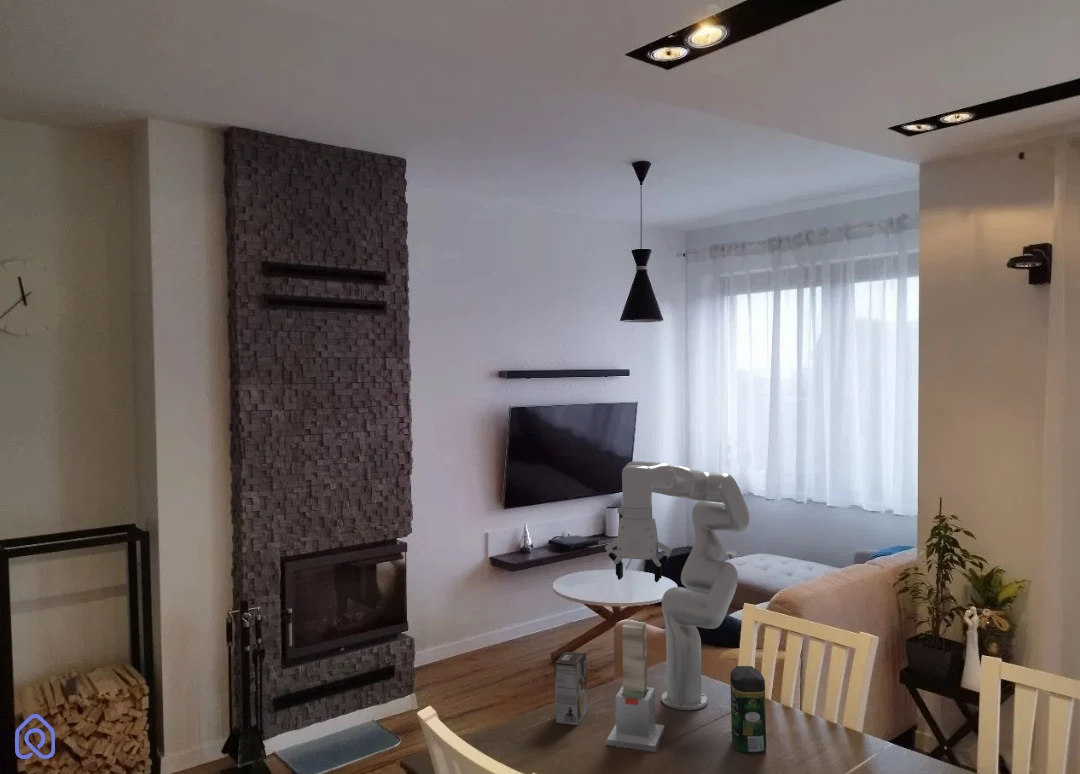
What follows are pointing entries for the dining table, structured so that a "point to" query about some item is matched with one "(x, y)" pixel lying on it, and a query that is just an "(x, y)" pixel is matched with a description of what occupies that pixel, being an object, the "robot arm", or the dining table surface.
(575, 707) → the coffee box
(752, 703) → the coffee jar
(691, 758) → the dining table surface
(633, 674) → the post
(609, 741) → the stand
